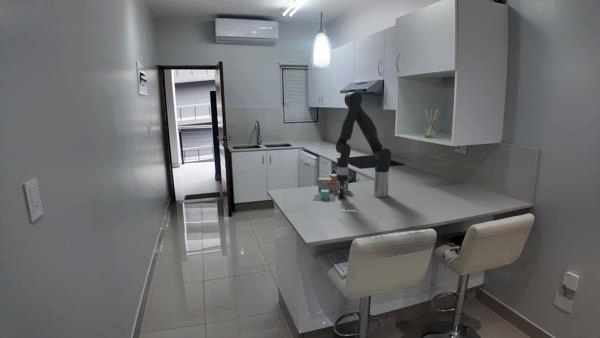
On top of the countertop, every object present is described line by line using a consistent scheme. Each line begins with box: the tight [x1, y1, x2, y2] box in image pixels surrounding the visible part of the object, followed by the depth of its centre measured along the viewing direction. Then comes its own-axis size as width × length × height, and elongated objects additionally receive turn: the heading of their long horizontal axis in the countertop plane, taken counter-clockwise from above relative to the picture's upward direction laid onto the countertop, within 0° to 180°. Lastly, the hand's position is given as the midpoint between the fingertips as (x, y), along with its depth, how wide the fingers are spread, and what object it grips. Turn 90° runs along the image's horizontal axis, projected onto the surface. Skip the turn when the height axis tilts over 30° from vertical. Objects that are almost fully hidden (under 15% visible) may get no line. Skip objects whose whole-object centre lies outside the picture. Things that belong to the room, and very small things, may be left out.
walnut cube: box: [337, 191, 347, 200], centre depth 216 cm, size 5×5×5 cm
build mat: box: [312, 194, 337, 203], centre depth 216 cm, size 14×14×1 cm
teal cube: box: [320, 190, 330, 199], centre depth 215 cm, size 5×5×5 cm
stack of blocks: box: [317, 173, 350, 192], centre depth 234 cm, size 21×6×12 cm, turn 84°
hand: (341, 198), depth 217 cm, fingers closed on walnut cube, 5 cm apart
